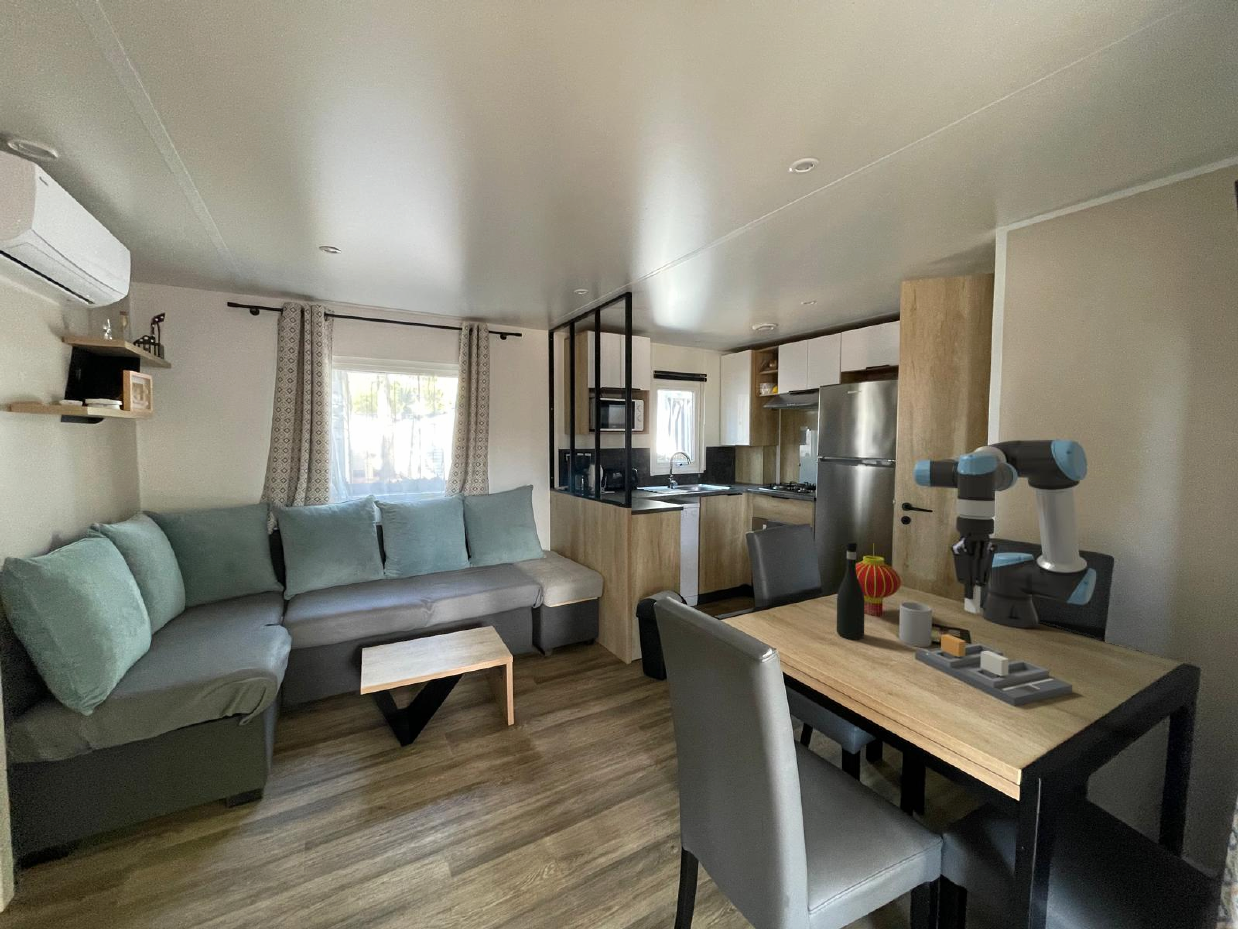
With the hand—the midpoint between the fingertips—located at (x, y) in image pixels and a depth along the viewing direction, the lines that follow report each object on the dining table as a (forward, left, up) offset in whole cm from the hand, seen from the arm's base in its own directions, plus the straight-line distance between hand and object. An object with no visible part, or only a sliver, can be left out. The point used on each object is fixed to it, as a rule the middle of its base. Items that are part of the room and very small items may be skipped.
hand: (972, 611), depth 118 cm
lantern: (-20, -50, -20) cm, 57 cm away
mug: (-14, -27, -20) cm, 36 cm away
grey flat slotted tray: (-12, -4, -20) cm, 23 cm away
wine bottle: (+3, -36, -20) cm, 41 cm away
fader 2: (-7, +1, -17) cm, 19 cm away
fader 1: (-7, -10, -17) cm, 21 cm away
